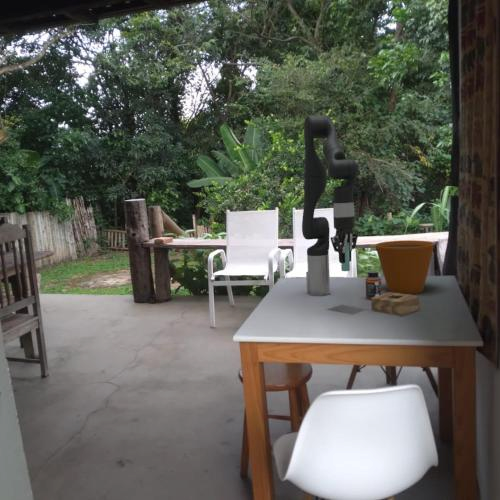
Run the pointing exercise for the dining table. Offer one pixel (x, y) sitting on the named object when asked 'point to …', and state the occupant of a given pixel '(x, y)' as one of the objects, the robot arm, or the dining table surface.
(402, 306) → the hole block
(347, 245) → the peg
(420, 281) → the flower pot
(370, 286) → the supplement bottle
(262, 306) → the dining table surface
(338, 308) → the mat
